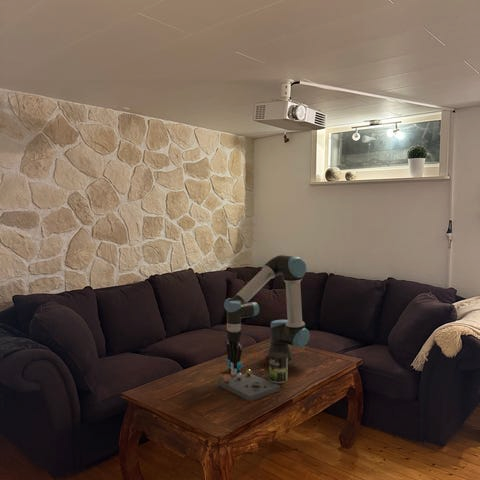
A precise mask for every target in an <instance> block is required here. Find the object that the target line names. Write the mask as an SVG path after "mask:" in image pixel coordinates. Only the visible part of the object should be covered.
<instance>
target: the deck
mask: <svg viewBox="0 0 480 480" xmlns="http://www.w3.org/2000/svg"><path fill="white" fill-rule="evenodd" d="M219 387H220V388H222V389H225V390H226V391H228V392H230V393H232V394H233V395H237V396H239V397H241V398H243V399H244V400H246V401H248V402H252V401H255V400H258V399H260V398H263V397H267V396H269V395H272V394H275V393H277V392H280V391H281V386H280V385H278V384H277V383H274V382H271V381H269V380H267V379H265V378H263V377H260V376H258V375H255V374H253V373H252V374H251V375H247V374H246V373H243V374H242V379H237V377H236V376H232V377H231V380H230V381H229V382H225V381H224V380H223V379H222V380H221V381H219Z"/></svg>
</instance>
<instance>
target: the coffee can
mask: <svg viewBox="0 0 480 480" xmlns="http://www.w3.org/2000/svg"><path fill="white" fill-rule="evenodd" d="M268 359H269V361H268V363H269V364H268V381H269V382H272V383H274V384H284V383H287V382H288V380H289V379H288V373H289V372H288V371H289V370H288V366H289V365H288V364H289V360H288V354H287V353H285V352H281V351H275V352H271V353H269V358H268Z"/></svg>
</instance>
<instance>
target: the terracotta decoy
mask: <svg viewBox="0 0 480 480" xmlns="http://www.w3.org/2000/svg"><path fill="white" fill-rule="evenodd" d="M231 378H232V376H231V374H228V373H226V374H224V376H223V379H222V381H223V380H224V381H225V382H229V381H230V380H231Z"/></svg>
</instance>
